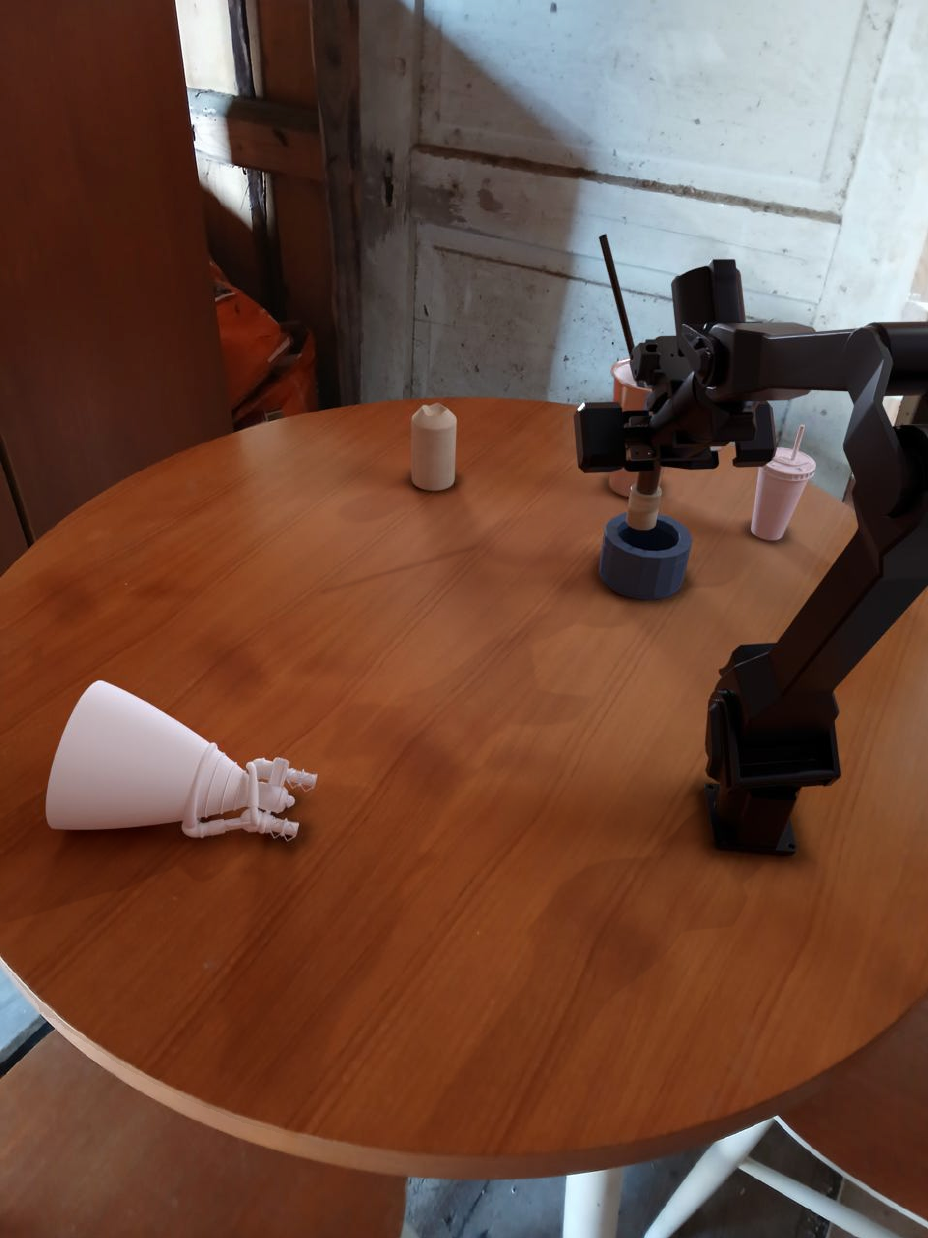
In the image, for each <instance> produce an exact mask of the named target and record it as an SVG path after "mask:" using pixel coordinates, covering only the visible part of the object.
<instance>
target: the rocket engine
mask: <svg viewBox="0 0 928 1238" xmlns="http://www.w3.org/2000/svg"><path fill="white" fill-rule="evenodd" d="M245 767H246V770H244V769H242V768H241V767H240V766H239V765H238V762H236V761H233V760H232V759H231V758H230V757H228V756H227V755H226V752H222V751H221V750H219V748H218V744H217V743H216V742H209V741H208V740H206V739H205V738H203V737H202V736H201V735H199V734H198V733H196V732H194V731H193V730H192V729H190V728H189V727H188V726H186V725H185V724H183V723H181V722H180V721H178V720H177V719H175V718H173V716H170V715H169V714H167V713H165V712H164V711H162V710H160V709H159V708H157V707H155V706H154V705H152V704H151V703H149V702H147V701H146V700H143V699H141V698H140V697H138V696H136V695H134V694H132V693H130V692H128V691H127V690H124V689H122V688H120V687H119V686H116V685H114V684H112V683H109V682H107V681H105V680H101V679H100V680H96V681H93V683H91V684H90V685H89V686H88V687H87V689H86V690H85V691H84V692H83V694H82V695H81V697H80V698H79V700H78V701H77V703H76V704H75V706H74V707H73V710H72V712H71V714H70V716H69V718H68V720H67V722H66V724H65V727H64V730H63V732H62V735H61V737H60V740H59V743H58V746H57V748H56V751H55V754H54V758H53V762H52V765H51V769H50V773H49V778H48V782H47V783H48V784H47V790H46V795H45V796H46V797H45V818H46V821H47V824H48V826H49V827H50V828H51V829H52V830H65V831H66V830H67V831H68V830H69V831H74V830H75V831H83V830H84V831H88V830H89V831H90V830H91V831H93V830H112V829H113V830H115V829H125V828H128V829H129V828H137V827H147V826H154V825H163V824H169V823H177V822H181V830H182V832H183V834H184V835H186V836H188V837H191V838H195V839H196V838H197V839H198V838H201V839H203V838H204V837H209V836H218V835H223V834H225V833H226V832H229V831H234V830H240V829H243V830H244V831H245V832H247V833H256V832H258V833H259V834H261V835H263V834H271V836H272V838H274V839H276V838H277V837H279V836H280V837H284V839H285V840H286V841H287V842H289V841H291V840H292V839H295V838H296V837H297V834H298V830H299V826H300V823H299V822H295V821H290V820H288V817H286V818H285V819H281V818H278V817H275V816H274V815H273V814H272V812H273V813H276V814H279V813H282V812H283V811H284V810H285V809H286V808H287V809H290V807H292V806H293V805H295V802H296V800H295V797H294V796H292V795H289V790H288V789H287V788H286V786H284V785H285V781H286V782H287V783H288V784H289V786H290V787H291V789H292V790H293V789H295V788H296V787H297V786H298V788H300V787H301V789H302V790H303V791H304V793H307V792H308V791H310V790H313V789H315V787H316V782H317V779H318V773H314V774H312V773H310V772H307V771H305V768H303V769H302V770H298V769H295V768H294V767H291V768H289V767H290V761H289V760H288V759H286V758H282V757H275V758H274V759H273V761H271V760H268V759H266V758H265V757H262V758H260V757H259V758H256V759H254V760H252V761H248V762H247V763H246V765H245ZM247 770H248V772H247ZM260 779H261V780H267V782H263V781H259V780H260ZM291 783H295V784H296V785H295V786H292V784H291ZM303 785H304V786H308V787H310V788H309V789H307V790H305V788H304V786H303ZM242 808H247V809H245V810H243V811H242V813H241V814H240V817H235V818H230V819H229V818H228V819H224V818H220V819H214V820H210V821H207V822H201V821H202V818H205V819H207V818H208V817H209V816H215V815H223V814H224V813H226V812H231V811H233V812H235V811H236V810H239V809H242ZM262 810H263V811H264V812H263V811H262ZM273 832H274V833H278V835H276V836H274V834H273ZM286 835H288V836H291V837H290V838H289V839H287V837H286Z"/></svg>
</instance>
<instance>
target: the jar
mask: <svg viewBox="0 0 928 1238" xmlns="http://www.w3.org/2000/svg"><path fill="white" fill-rule="evenodd" d="M626 515H627V512H622V513H619V514H618V515H615V516H613V517H612V518H610V519H609V520H608V522H607V523H606V525H605V526H604V531H603V538H602V545H601V550H600V558H599V568H598V573H599V577H600V579H601V581H602V582H603V584H604V585H606V586H607V587H608V588H609V589H610V590H612V591H613V592H615V593H617V594H619V595H621V596H625V597H628V598H631V599H635V600H642V601H643V600H644V601H654V600H662V599H666V598H668V597H671V596H673V595H675V594H676V593H677V592H679V590H680V589H681V587H682V586H683V583H684V582H683V581H684V580H685V576H686V572H687V567H688V562H689V557H690V554H691V549H692V545H693V538H692V533H691V532H690V530H689V529H688V528H687V527H686V526H685V525H684V524H683V523H682V522H681V521H678V520H676V519H675V518H673V517H671V516H669V515H666V514H662V513H658V516H657V521H656V525H655V527H654V528H652V529H650V530H637V529H634V528H632V527H630V526H628V525H627V523H626Z"/></svg>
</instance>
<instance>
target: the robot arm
mask: <svg viewBox="0 0 928 1238" xmlns="http://www.w3.org/2000/svg"><path fill="white" fill-rule="evenodd" d="M741 273H742V272H741V271H740V270H739V268H738V267H737V262H736V259H735V258H712V259H711V260H710V261H709V262H708V264H707V265H704V266H698V267H696V268H692V269H690V270H688V271H686V272H684V273H682V274H680V275H675V277H673V279H672V280H671V283H670V288H671V298H672V309H673V319H674V328H675V335H658V336H657V337H655V338H646V339H645V340H644V342H639V343H637V344H636V346H635V347H634V349H633V350H632V353H631V356H630V357H629V358H630V368H631V372H632V376H633V380H634V381H636V382H638V381H642V382H645V383H646V385H651V389H652V393H651V394H650V395H649V397H648V398H647V399H646V401H647V410H634V411H623V410H622V406H621V405H620V403H619V402H612V401H594V402H593V401H591V402H586V401H585V402H583V403H582V404H581V405H580V406H578V408H577V410H576V411H575V412H574V414H573V425H574V436H575V437H574V438H575V448H576V461H577V469H579V470H580V471H581V472H582V473H583V474H595V473H610V472H613V471H617V470H621V469H622V468H623V467H624V469H625V470H626V471H627V472H649V471H655V469H654V458H655V457H656V456H657V462H663V463H662V467H665V468H669V469H671V468H672V469H678V470H687V471H703V470H715V469H717V468H718V467H719V465H720V457H719V452H721V451H722V450H723V449H724V447H727V446H728V445H729V444H730V443H734V448H735V457H734V458H733V459H732V460H731V461H732V467H734V468H736V469H740V468H758V467H763V466H765V465H766V464H768V463H769V462H771V461H772V459H773V458H774V457H775V454H776V451H777V448H778V443H777V433H776V426H775V416H774V408H773V407H772V405H771V404H770V403H769V402H773V401H775V402H776V401H791V400H794V399H797V398H800V397H803V396H804V397H805V396H807V395H809V394H810V393H811V392H812V391H822V392H823V391H826V392H847V393H848V396H849V398H850V400H851V402H852V405H853V408H852V411H851V414H850V418H849V421H848V425H847V428H846V432H845V435H844V438H843V442H842V450H843V453H844V455H845V458H846V461H847V463H848V465H849V468H850V471H851V473H852V475H853V478H854V480H855V483H854V485H853V487H852V490H851V498H852V503H853V508H854V512H855V513H854V514H855V518H856V522H857V529H856V531H855V533H854V535H853V536H852V537H851V539H850V540H849V541H848V543H847V544H846V546H845V547H844V548H843V550H842V551H841V552H840V554H839V555H838V557H836V560H835V561H834V562H833V564H832V565H831V566H830V568H829V569H828V570H827V572H826V574H825V575H824V576H823V577H822V579H821V580H820V581H819V583H818V585H817V586H816V587H815V589H814V590H813V591H812V593H811V594H810V596H809V597H808V599H807V600H806V601H805V602H804V604H803V605H802V607H801V608H800V610H799V611H798V612H797V614H796V615H795V616H794V618H793V619H792V620H791V622H790V624H789V625H788V626H787V628H786V629H785V631H783V633H782V634H781V636H780V637H779V638H778V640H777V641H776V642H765V643H762V642H761V643H747V644H739V645H738V646H737V647H736V648H735V649H734V650H732V652H731V654H730V656H729V659H728V661H727V662H726V664H725V665H724V666H723V667H721V668H719V669H718V674H719V675H720V676H721V677H720V678H719V680H718V681H717V682H716V684H715V686H714V690H713V691H712V692H711V694H710V696H709V699H708V700H707V713H706V725H705V736H704V737H705V738H704V747H705V748H704V751H705V755H706V756H707V763H706V766H705V769H704V772H705V773H706V775H707V778H710V779H712V780H714V781H716V783H715V782H714V783H713V782H707V783H705V784H704V786H703V794H704V799H705V806H706V811H707V817H708V823H709V828H710V833H711V839H712V844H713V846H714V848H716V849H717V850H718V849H719V850H727V851H740V852H749V853H750V852H752V853H763V854H764V853H765V854H776V855H777V854H778V855H786V856H787V855H790V856H793V855H795V854H796V853H797V852H798V844H797V840H796V836H795V832H794V829H793V825H792V824H793V823H792V821H791V816H792V815H793V811H794V808H795V805H796V803H797V802H798V798H799V796H800V793H801V790H802V788H807V787H808V788H809V787H810V788H811V787H825V788H826V787H832V786H833V785H834V784H835V783H836V782H837V781H838V780H839V779H841V777H842V770H841V762H840V761H841V760H840V754H839V745H838V737H837V729H836V728H837V727H836V720H837V718H838V716H839V715H840V712H841V711H840V708H839V705H838V701H837V699H836V694H835V690H836V688H837V687H838V686H839V685H840V684H841V683H842V682H843V681H844V680H845V679H846V677H847V676H848V675H849V674H850V673H851V672H852V671H853V669H854V668H855V667H856V666H857V665H858V664H859V663H860V662H861V661H862V660H863V659H864V658H865V656H866V655H867V654H868V653H869V652H870V651H871V650H872V649H873V648H874V646H875V645H876V644H877V643H878V642H879V641H880V640H881V639H882V638H883V636H884V635H885V634H886V633H888V631H889V630H890V628H891V627H893V625H894V624H895V623H896V622H897V621H898V620H899V619H900V617H902V615H903V614H904V613H905V612H906V611H907V610H908V609H909V608H910V606H911V605H912V604H913V603H914V602H915V601H916V600H917V599H918V598H919V597H920V595H921V594H922V593H923V592H924V591H925V590H926V589H927V588H928V423H919V424H917V423H916V424H915V423H914V424H900V425H893V424H892V422H891V420H890V417H889V415H888V412H887V411H886V408H885V406H884V403H883V402H884V398H885V397H912V396H913V397H915V396H921V397H922V399H923V402H924V403H925V404H926V405H927V406H928V320H925V321H923V320H922V321H873V322H870V323H867V324H866V325H864V326H860V327H855V328H844V329H831V330H819V331H817V330H816V329H815V328H814V327H812V326H809V325H806V324H802V323H798V322H793V321H788V322H787V321H786V322H785V321H784V322H783V321H782V322H781V321H780V322H775V321H774V322H763V321H761V320H760V321H757V320H756V321H747V317H746V309H745V299H744V290H743V283H742V274H741ZM649 412H653V416H649Z"/></svg>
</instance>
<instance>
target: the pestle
mask: <svg viewBox="0 0 928 1238" xmlns="http://www.w3.org/2000/svg"><path fill="white" fill-rule="evenodd" d="M649 416H653V412H649ZM662 463H663V462H657V456H656V457H655V458H654V469H655V471H649V472H639V473H638V479H637V483H636V484H634V485H632V487H631V491H630V497H629V498H628V502H627V503H628V504H627V509H626V510H627V511H626V513H627V515H626V523H627V525H628V526H630V527H632V528H634V529H637V530H650V529H652V528H654V527H655V525H656V521H657V516H658V514H659V511H660V504H661V500H662V495H663V490H662V488H661V487H660V486H658V485H659V479H660V474H661V469H662Z"/></svg>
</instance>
